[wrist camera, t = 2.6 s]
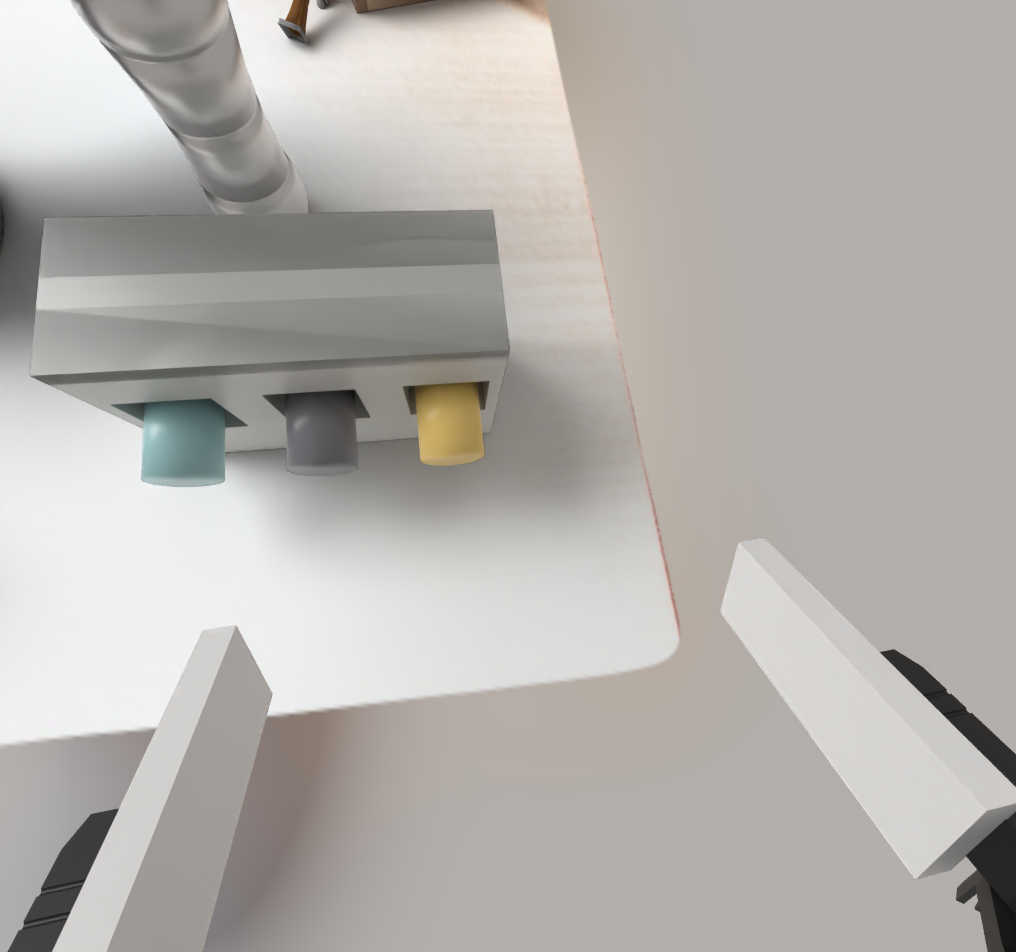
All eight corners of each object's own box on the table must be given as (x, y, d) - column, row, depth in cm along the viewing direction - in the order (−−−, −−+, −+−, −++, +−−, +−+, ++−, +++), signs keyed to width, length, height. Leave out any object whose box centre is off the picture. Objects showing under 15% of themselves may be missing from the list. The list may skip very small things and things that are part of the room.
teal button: (236, 483, 27) (203, 469, 23) (168, 489, 26) (123, 475, 23) (236, 399, 28) (205, 374, 24) (170, 404, 27) (128, 378, 24)
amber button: (483, 462, 28) (486, 446, 25) (422, 467, 28) (417, 452, 24) (474, 385, 29) (477, 359, 26) (416, 388, 29) (410, 362, 25)
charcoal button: (363, 472, 27) (350, 457, 24) (299, 478, 27) (275, 463, 24) (359, 392, 28) (345, 366, 25) (297, 396, 28) (274, 370, 24)
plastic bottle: (308, 263, 36) (129, -109, 16) (215, 250, 35) (-86, -153, 16) (323, 192, 37) (175, -230, 18) (234, 178, 37) (-21, -274, 17)
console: (490, 432, 34) (509, 349, 22) (198, 454, 32) (29, 375, 19) (480, 338, 36) (493, 209, 23) (200, 352, 33) (44, 217, 21)
